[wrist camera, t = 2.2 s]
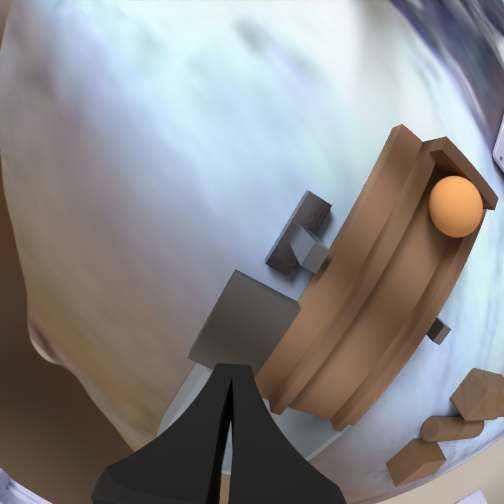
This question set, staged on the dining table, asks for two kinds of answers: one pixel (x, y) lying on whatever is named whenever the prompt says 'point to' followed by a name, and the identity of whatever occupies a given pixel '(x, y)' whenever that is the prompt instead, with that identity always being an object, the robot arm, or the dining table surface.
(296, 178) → the dining table surface
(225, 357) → the wooden rack
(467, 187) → the ball
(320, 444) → the tray
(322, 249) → the lever stand
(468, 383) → the wooden block set
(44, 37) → the dining table surface
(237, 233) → the dining table surface
